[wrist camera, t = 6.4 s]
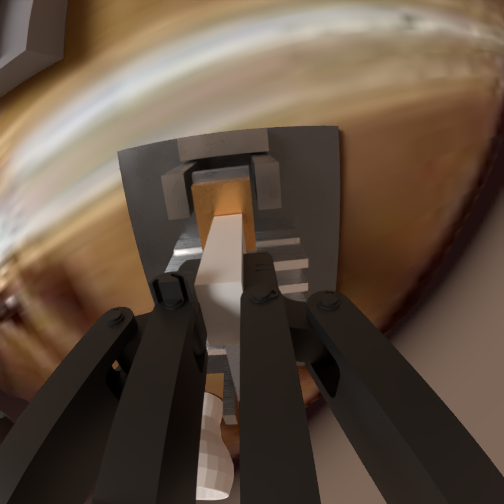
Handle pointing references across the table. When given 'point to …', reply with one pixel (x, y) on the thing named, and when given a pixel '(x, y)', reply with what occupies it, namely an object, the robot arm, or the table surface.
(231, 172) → the strap
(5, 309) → the table surface
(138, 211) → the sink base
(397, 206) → the table surface
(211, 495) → the cup
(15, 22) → the tray
